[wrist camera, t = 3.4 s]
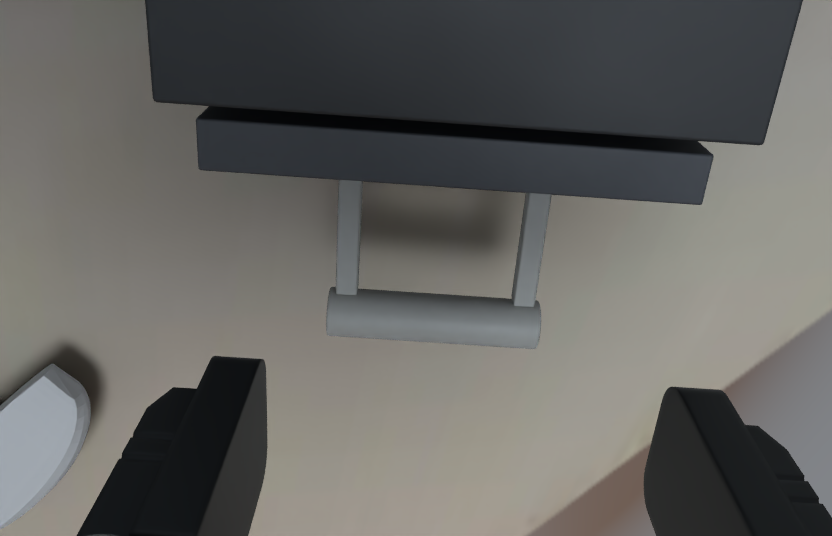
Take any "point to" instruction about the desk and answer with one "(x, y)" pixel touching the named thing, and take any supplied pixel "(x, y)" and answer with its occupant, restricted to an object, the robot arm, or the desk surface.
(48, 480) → the game controller
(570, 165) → the drawer
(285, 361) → the desk surface
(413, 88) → the small filing cabinet
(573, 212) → the desk surface
